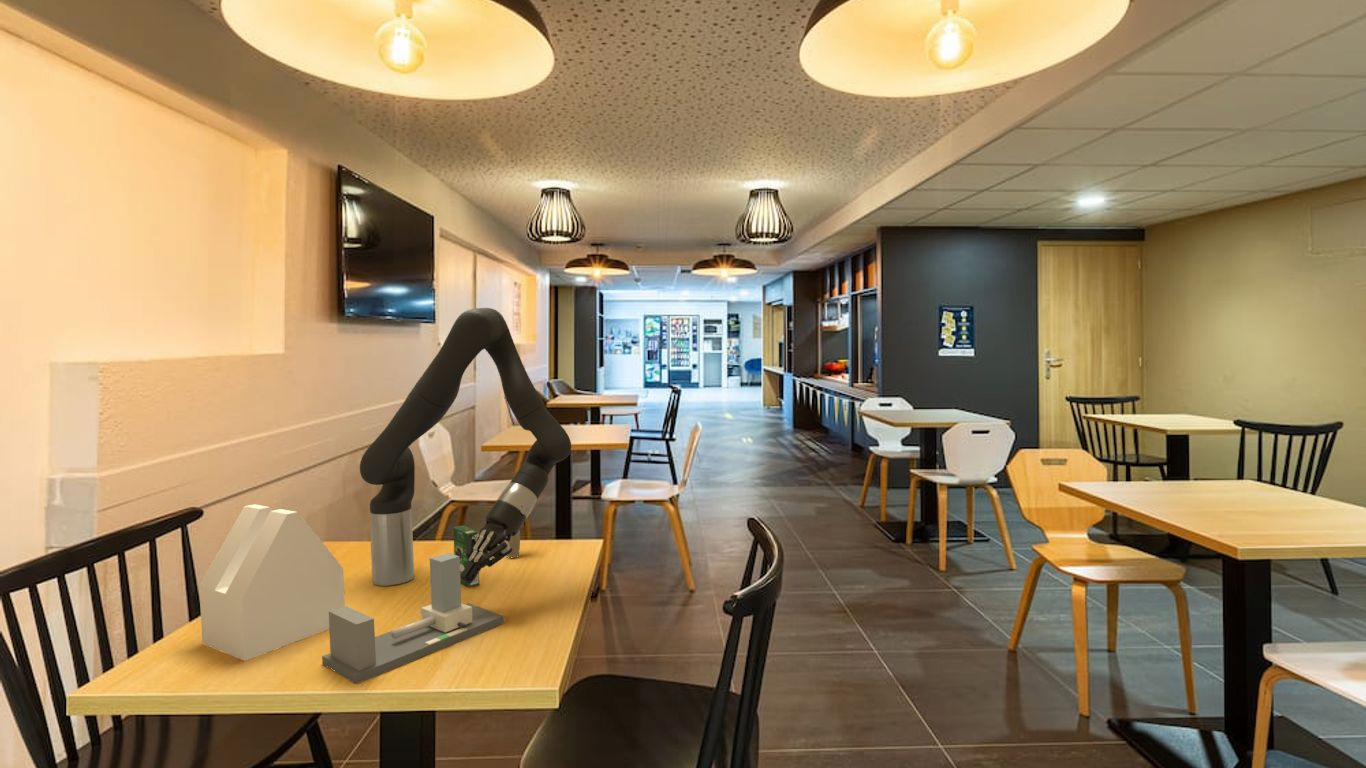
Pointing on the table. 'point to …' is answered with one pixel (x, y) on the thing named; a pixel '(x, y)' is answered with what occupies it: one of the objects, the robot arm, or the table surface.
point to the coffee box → (463, 550)
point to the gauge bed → (390, 642)
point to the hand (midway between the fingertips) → (464, 580)
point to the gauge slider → (442, 599)
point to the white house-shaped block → (268, 584)
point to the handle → (514, 545)
